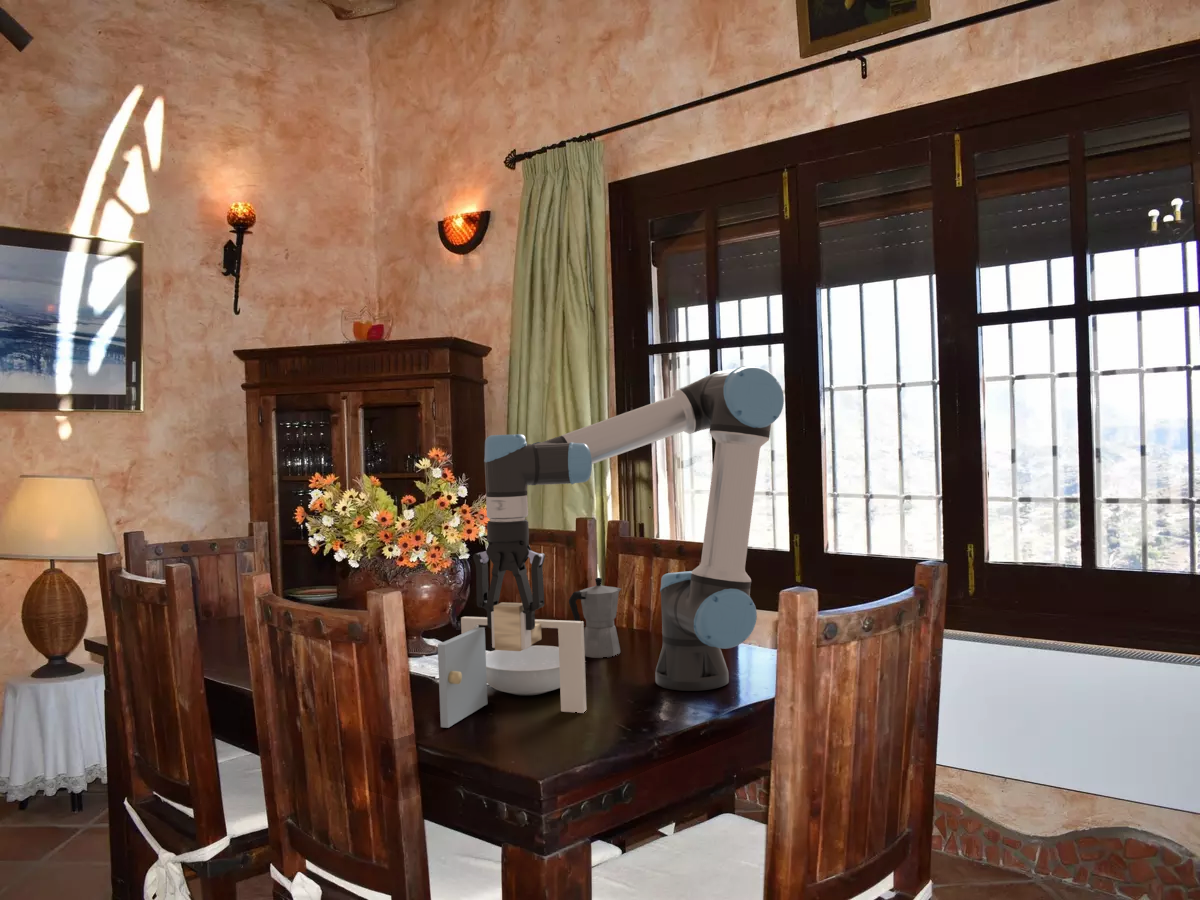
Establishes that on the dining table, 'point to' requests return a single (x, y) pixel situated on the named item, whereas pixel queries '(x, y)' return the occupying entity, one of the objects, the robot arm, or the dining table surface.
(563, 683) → the wall frame
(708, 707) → the dining table surface
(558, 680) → the serving bowl
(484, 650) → the door
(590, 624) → the coffeepot
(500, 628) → the toy staircase
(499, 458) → the robot arm
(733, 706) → the dining table surface
